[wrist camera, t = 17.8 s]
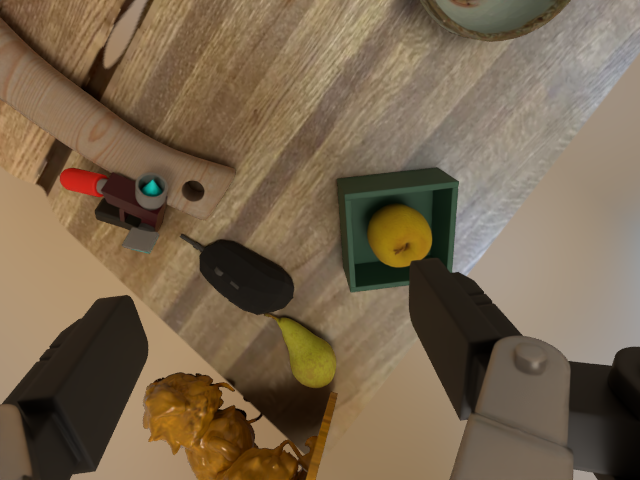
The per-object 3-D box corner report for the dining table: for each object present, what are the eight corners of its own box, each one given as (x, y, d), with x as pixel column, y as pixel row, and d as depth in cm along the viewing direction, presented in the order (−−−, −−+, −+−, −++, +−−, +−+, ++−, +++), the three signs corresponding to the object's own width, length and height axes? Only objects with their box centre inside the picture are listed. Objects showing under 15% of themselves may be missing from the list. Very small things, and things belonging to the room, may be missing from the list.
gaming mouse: (195, 213, 41) (187, 227, 37) (303, 280, 46) (305, 298, 42) (166, 255, 43) (156, 272, 39) (273, 315, 47) (273, 335, 44)
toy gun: (179, 176, 31) (153, 225, 29) (168, 227, 42) (148, 266, 39) (56, 120, 29) (17, 168, 27) (76, 189, 39) (49, 228, 37)
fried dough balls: (264, 669, 31) (10, 553, 34) (293, 554, 52) (135, 490, 56) (338, 394, 38) (124, 322, 42) (337, 392, 60) (195, 345, 64)
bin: (336, 178, 41) (344, 194, 36) (437, 167, 41) (458, 181, 36) (343, 267, 45) (350, 292, 40) (433, 256, 46) (451, 280, 41)
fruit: (354, 370, 47) (305, 290, 46) (321, 403, 44) (267, 319, 43) (330, 365, 52) (285, 292, 50) (299, 394, 49) (251, 318, 48)
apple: (349, 222, 42) (362, 254, 35) (391, 182, 41) (415, 207, 34) (385, 255, 45) (404, 292, 37) (426, 219, 43) (455, 250, 36)
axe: (170, 263, 37) (-201, 12, 26) (179, 244, 42) (-131, 25, 31) (291, 126, 34) (-63, -218, 23) (286, 122, 39) (-10, -164, 28)
